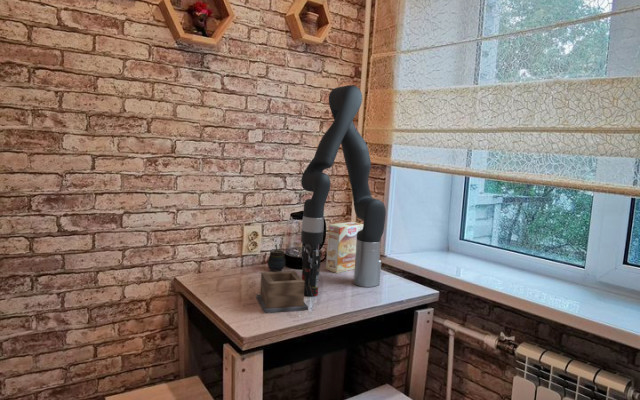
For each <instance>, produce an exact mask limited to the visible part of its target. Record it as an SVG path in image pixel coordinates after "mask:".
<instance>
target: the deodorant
mask: <svg viewBox="0 0 640 400" xmlns="http://www.w3.org/2000/svg"><path fill="white" fill-rule="evenodd" d="M310 258H311V259H313V255H312V256H311V255H310ZM310 268H311V267H310V262H308V254H307V253H306V252H303V258H302V269H301V270H302V271H301V278H302V279H303V281H304V282H305V285H304V297H307V298H313V297H317V296H318V295H319V281H320V268H317V277H316V279H311V278H310Z"/></svg>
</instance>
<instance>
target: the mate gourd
mask: <svg viewBox="0 0 640 400" xmlns="http://www.w3.org/2000/svg"><path fill="white" fill-rule="evenodd" d="M274 246H275V249H272V250H270V251H269V257H268V259H267V266H268V269H269V271H271V272H282V270H283V269H285V266H286V258H285V255H284V254H285V253H284V252H285V251H284V250H282V249H278V246H277V243H275V245H274Z"/></svg>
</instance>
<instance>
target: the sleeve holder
mask: <svg viewBox="0 0 640 400" xmlns="http://www.w3.org/2000/svg"><path fill="white" fill-rule="evenodd" d="M304 285H305V282H304V281H303V279H302V276H300V274H298V273H297V272H296V271H295V270H291V271H290V270H287V271H285V270H284V271H268V272H265V271H264V272H260V294H256V295H255V298H256V300H257V302H258V304H259V306H260V308H261V309H262V311H263V313H264V314H276V313H288V312H301V311H308V310H309V307H308V305H307V304H306V302H305V301H304V300H305V296H304Z"/></svg>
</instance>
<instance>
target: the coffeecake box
mask: <svg viewBox="0 0 640 400" xmlns="http://www.w3.org/2000/svg"><path fill="white" fill-rule="evenodd" d="M363 224H364V223H361V222H356V221H348V222H338V223H330V224H328V232H327V248H326V260H325V261H326V262H325V263H326V264H325V269H326V270H327V271H330V272H333V273H335V274H340V273H343V272H347V271H352V270H354V269H355V255H356V240H357V232H358V231H360V230H362V229H363Z"/></svg>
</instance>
